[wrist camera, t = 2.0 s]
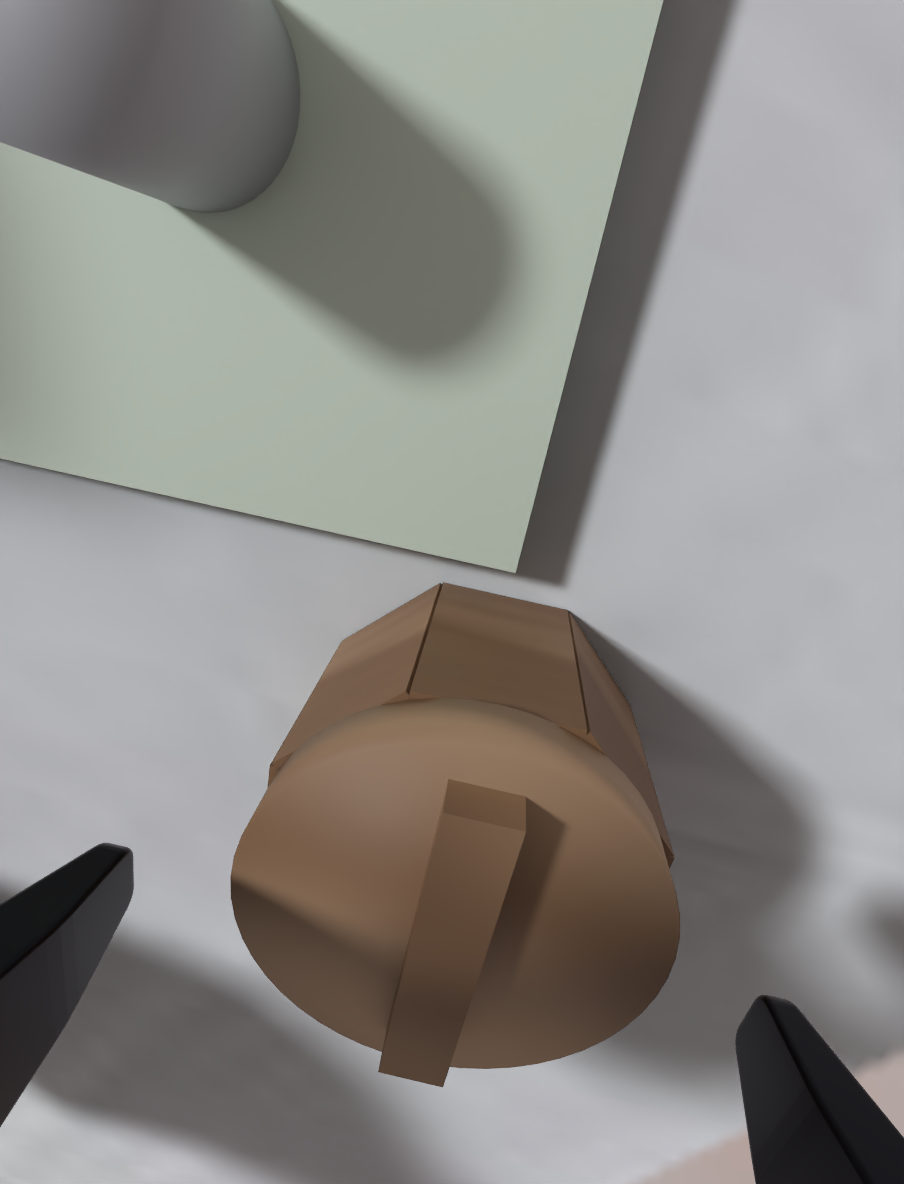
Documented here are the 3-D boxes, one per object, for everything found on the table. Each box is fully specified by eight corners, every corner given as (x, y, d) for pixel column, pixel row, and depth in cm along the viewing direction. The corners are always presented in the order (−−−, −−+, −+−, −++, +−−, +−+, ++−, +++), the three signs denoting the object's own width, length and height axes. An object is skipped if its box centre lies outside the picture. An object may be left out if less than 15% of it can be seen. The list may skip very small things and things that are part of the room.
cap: (576, 863, 15) (606, 1149, 10) (314, 802, 15) (204, 1054, 10) (666, 627, 12) (773, 846, 7) (348, 556, 12) (222, 719, 7)
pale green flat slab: (515, 554, 12) (513, 673, 8) (-88, 420, 12) (-405, 467, 8) (763, -419, 7) (1112, -1495, 3) (-247, -613, 7) (-1274, -1875, 3)
